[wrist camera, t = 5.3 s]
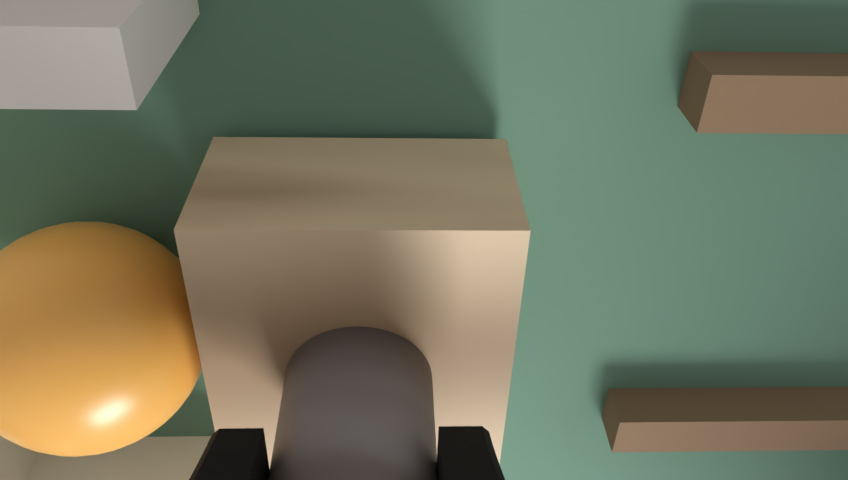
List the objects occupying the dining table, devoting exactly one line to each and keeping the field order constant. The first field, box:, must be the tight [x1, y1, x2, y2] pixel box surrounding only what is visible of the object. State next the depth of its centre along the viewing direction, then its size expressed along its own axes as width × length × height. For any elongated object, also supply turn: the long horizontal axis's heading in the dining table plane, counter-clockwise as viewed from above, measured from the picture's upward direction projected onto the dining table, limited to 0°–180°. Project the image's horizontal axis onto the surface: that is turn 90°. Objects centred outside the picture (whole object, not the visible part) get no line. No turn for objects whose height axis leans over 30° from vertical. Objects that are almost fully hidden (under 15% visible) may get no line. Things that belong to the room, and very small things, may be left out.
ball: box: [0, 221, 202, 457], centre depth 13 cm, size 4×4×4 cm
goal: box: [0, 0, 211, 480], centre depth 13 cm, size 12×6×4 cm, turn 178°
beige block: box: [174, 137, 531, 480], centre depth 11 cm, size 6×5×8 cm
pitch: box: [0, 0, 848, 480], centre depth 15 cm, size 15×23×2 cm, turn 88°
